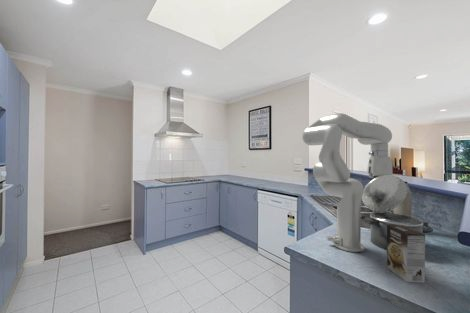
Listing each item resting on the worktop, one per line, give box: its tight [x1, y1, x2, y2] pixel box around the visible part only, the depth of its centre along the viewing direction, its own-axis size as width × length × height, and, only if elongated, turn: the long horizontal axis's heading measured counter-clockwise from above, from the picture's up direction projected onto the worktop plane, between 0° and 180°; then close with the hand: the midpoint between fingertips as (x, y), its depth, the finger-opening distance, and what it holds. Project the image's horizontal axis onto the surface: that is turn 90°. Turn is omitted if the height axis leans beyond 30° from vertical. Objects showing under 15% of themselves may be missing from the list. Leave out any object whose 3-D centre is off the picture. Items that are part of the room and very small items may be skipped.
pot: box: [363, 212, 429, 251], centre depth 94 cm, size 26×20×13 cm
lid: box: [361, 174, 407, 213], centre depth 103 cm, size 22×21×4 cm
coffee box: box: [386, 225, 426, 284], centre depth 70 cm, size 9×6×16 cm
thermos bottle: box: [393, 180, 412, 217], centre depth 116 cm, size 8×8×28 cm
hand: (379, 188), depth 105 cm, fingers closed
